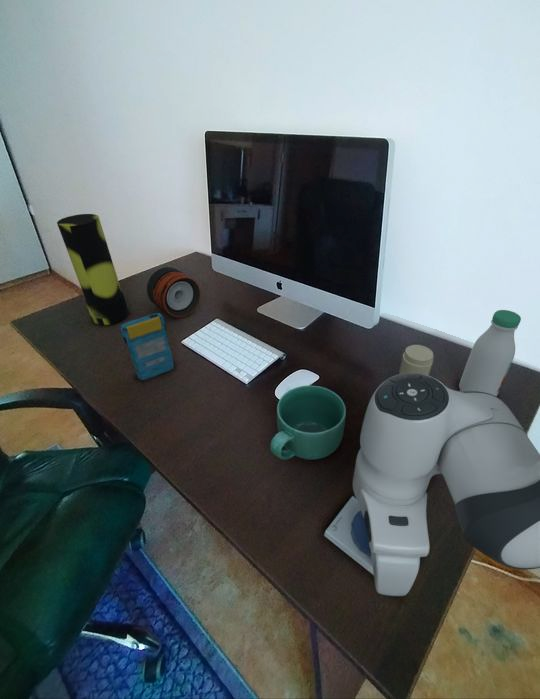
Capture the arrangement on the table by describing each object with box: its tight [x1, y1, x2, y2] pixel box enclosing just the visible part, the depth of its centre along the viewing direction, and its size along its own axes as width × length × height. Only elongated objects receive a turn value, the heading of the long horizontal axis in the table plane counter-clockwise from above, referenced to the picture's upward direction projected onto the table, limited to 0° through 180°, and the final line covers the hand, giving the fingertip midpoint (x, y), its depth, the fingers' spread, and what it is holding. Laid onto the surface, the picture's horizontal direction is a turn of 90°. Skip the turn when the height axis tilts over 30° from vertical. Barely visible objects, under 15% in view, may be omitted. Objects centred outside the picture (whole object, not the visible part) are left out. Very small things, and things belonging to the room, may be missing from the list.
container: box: [56, 213, 129, 326], centre depth 106 cm, size 11×11×30 cm
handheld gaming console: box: [119, 312, 175, 381], centre depth 88 cm, size 10×4×15 cm, turn 123°
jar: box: [398, 344, 434, 376], centre depth 81 cm, size 6×6×10 cm
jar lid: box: [351, 511, 371, 557], centre depth 55 cm, size 7×7×2 cm
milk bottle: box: [458, 309, 522, 397], centre depth 77 cm, size 8×8×20 cm
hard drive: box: [323, 495, 374, 576], centre depth 56 cm, size 2×8×12 cm
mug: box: [269, 385, 347, 461], centre depth 69 cm, size 17×13×10 cm
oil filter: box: [146, 266, 201, 318], centre depth 114 cm, size 13×12×13 cm
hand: (374, 535), depth 56 cm, fingers closed on jar lid, 7 cm apart
